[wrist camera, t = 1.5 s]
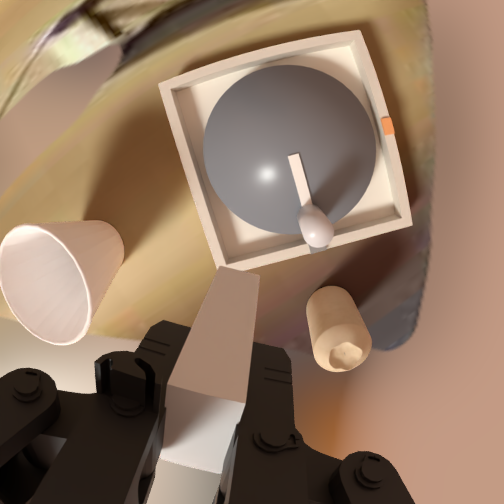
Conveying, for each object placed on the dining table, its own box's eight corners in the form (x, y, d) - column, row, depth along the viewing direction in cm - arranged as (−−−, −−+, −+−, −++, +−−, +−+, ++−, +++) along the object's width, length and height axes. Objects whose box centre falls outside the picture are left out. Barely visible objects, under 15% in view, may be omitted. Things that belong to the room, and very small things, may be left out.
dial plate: (168, 89, 30) (156, 83, 27) (352, 39, 27) (360, 28, 24) (224, 265, 35) (219, 277, 32) (401, 218, 33) (413, 226, 29)
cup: (107, 178, 33) (38, 195, 21) (163, 265, 36) (117, 317, 24) (47, 232, 36) (-18, 264, 24) (97, 308, 38) (46, 360, 27)
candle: (346, 278, 35) (369, 323, 26) (357, 318, 36) (379, 369, 27) (299, 294, 36) (307, 344, 26) (313, 333, 37) (323, 388, 28)
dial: (187, 97, 29) (161, 82, 21) (343, 55, 27) (364, 29, 19) (234, 247, 33) (223, 276, 26) (385, 207, 31) (416, 225, 23)
